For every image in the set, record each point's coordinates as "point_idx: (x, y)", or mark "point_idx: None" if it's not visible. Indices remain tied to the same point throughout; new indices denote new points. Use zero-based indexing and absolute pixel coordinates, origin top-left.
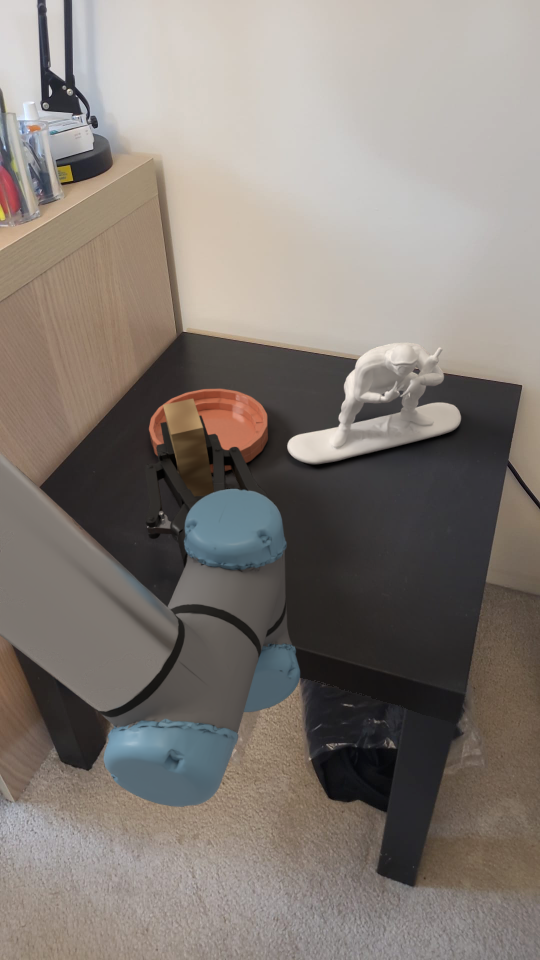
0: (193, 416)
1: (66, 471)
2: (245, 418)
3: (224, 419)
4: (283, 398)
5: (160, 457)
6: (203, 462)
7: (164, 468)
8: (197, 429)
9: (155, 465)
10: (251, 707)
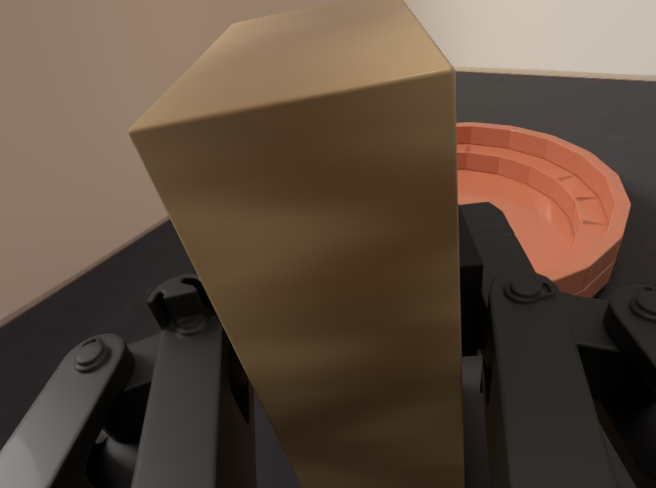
0: (376, 29)
1: (96, 282)
2: (534, 190)
3: (478, 190)
4: (621, 153)
5: (167, 306)
6: (422, 374)
7: (154, 389)
8: (392, 89)
9: (145, 345)
10: None
